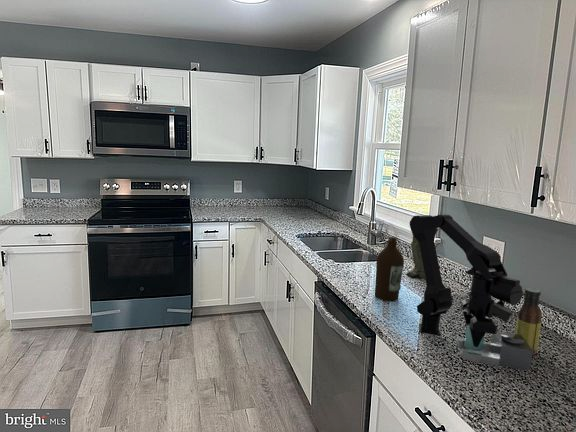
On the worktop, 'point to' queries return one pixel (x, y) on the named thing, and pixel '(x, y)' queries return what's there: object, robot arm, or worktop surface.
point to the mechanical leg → (416, 261)
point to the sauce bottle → (530, 319)
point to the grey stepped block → (501, 351)
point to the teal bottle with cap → (469, 341)
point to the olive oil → (389, 272)
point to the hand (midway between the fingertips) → (473, 342)
